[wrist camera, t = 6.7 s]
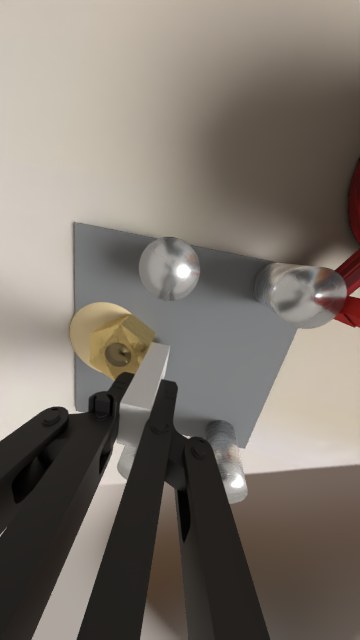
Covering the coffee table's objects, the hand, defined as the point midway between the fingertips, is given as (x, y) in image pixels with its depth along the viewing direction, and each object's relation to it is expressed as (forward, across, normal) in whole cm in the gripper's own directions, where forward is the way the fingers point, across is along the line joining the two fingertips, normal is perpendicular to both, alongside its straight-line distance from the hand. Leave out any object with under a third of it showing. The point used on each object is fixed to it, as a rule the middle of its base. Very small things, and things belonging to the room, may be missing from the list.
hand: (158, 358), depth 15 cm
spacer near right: (+1, +7, +7) cm, 10 cm away
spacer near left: (+1, 0, +8) cm, 8 cm away
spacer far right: (+1, +7, -8) cm, 10 cm away
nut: (+1, -3, 0) cm, 3 cm away
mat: (+2, +1, 0) cm, 2 cm away
